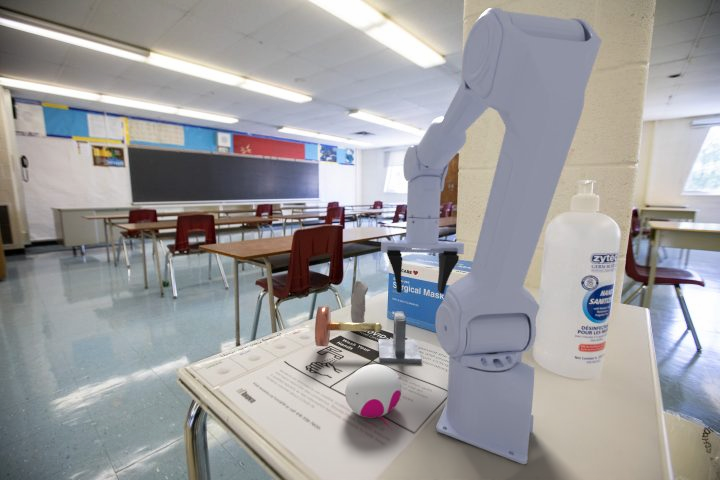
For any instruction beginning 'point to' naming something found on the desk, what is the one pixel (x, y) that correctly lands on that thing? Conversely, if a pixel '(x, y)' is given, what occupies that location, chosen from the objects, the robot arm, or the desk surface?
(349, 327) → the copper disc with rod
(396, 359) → the eye post
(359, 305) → the fossil
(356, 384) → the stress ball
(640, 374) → the desk surface
